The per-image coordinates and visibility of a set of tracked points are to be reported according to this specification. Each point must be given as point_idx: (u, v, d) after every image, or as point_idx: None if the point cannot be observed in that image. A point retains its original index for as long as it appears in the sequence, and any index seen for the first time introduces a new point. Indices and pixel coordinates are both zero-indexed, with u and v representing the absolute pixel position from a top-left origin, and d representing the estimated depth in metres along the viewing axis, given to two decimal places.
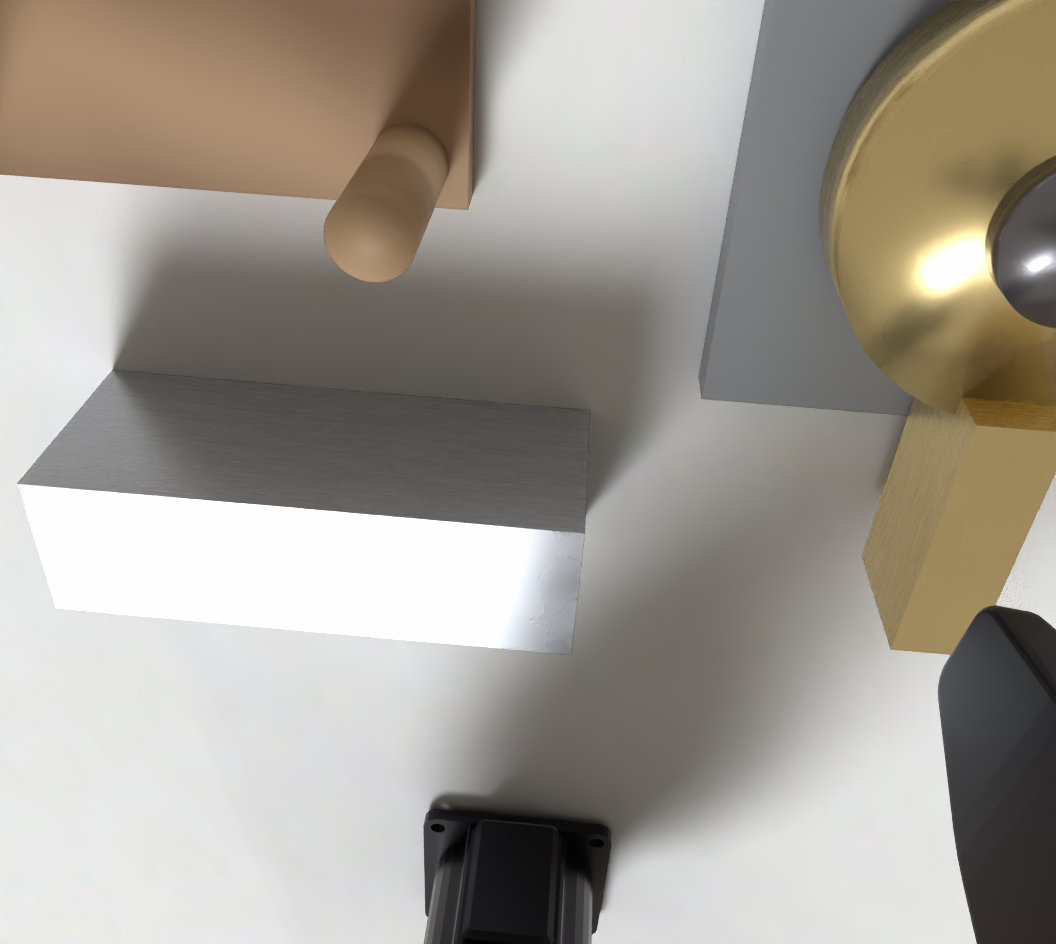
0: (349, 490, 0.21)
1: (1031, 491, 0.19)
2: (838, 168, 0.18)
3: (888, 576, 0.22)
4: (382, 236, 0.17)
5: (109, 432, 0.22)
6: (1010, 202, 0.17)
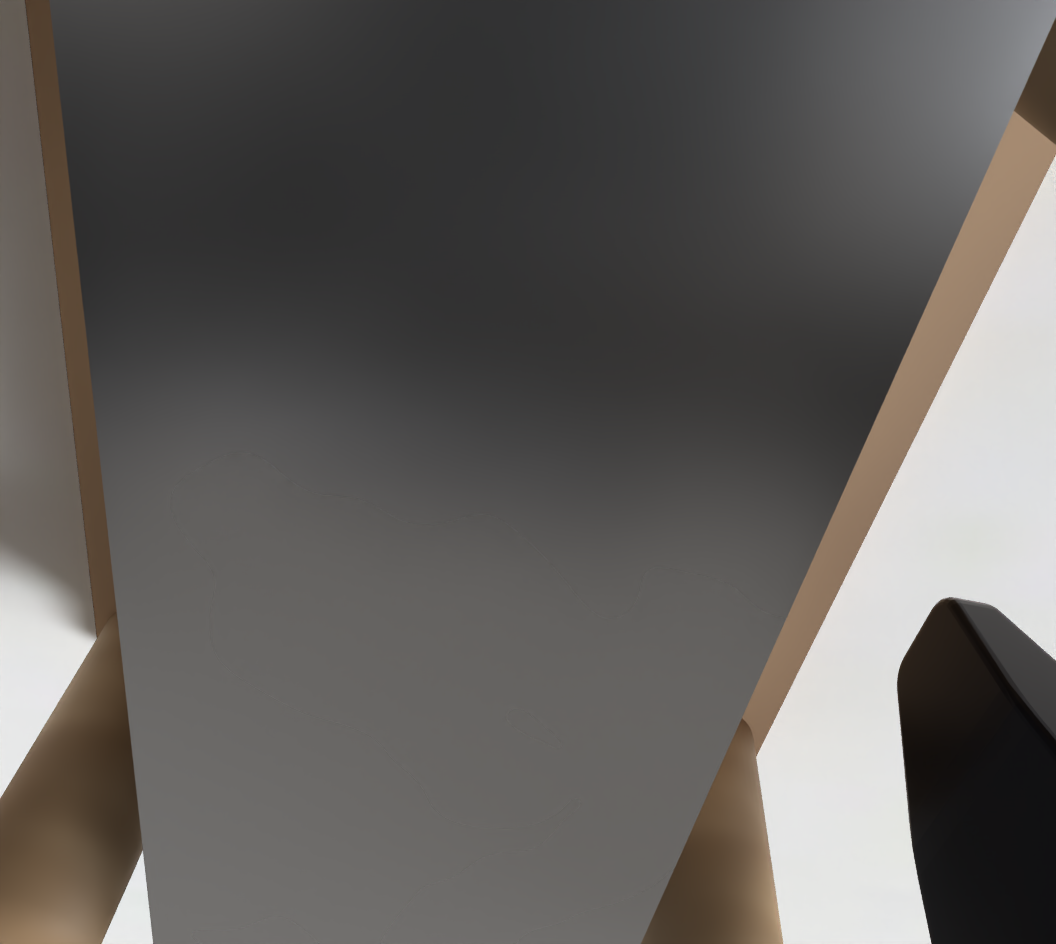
0: None
1: None
2: None
3: None
4: None
5: None
6: None
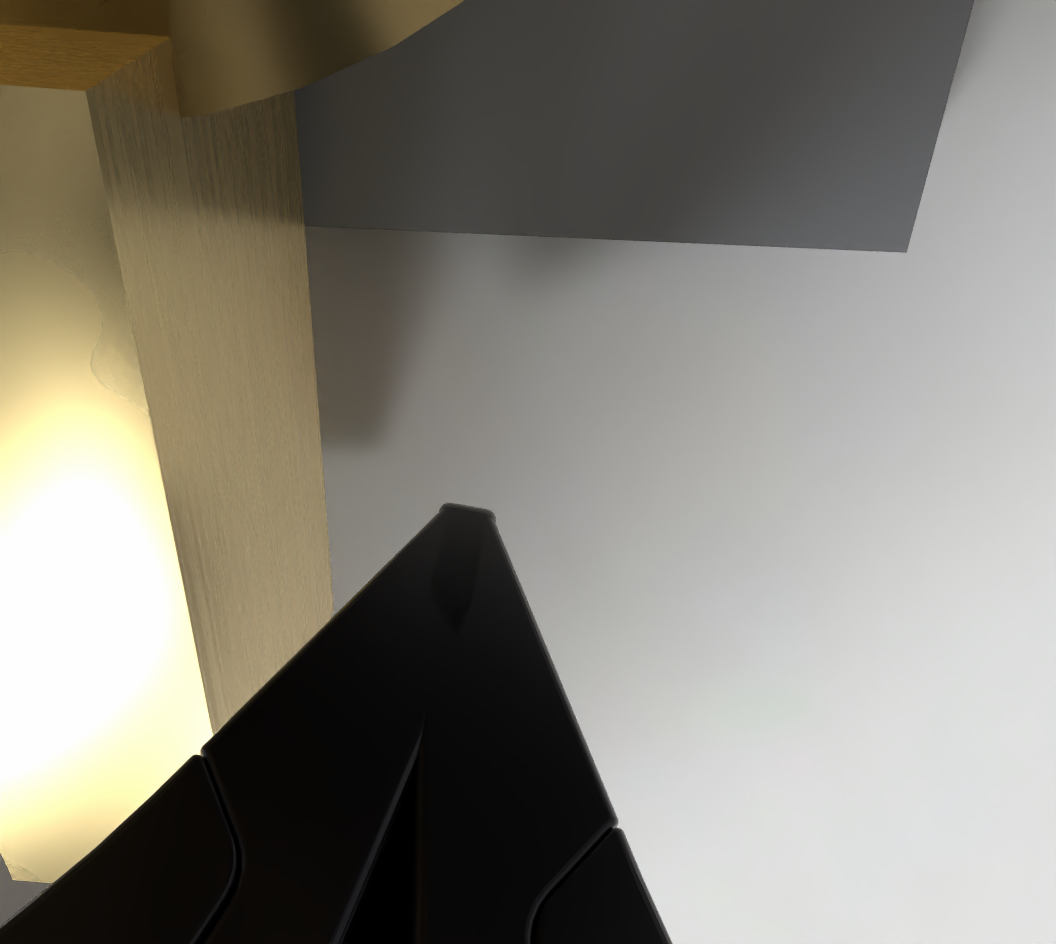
0: None
1: (87, 381, 0.05)
2: None
3: None
4: None
5: None
6: None
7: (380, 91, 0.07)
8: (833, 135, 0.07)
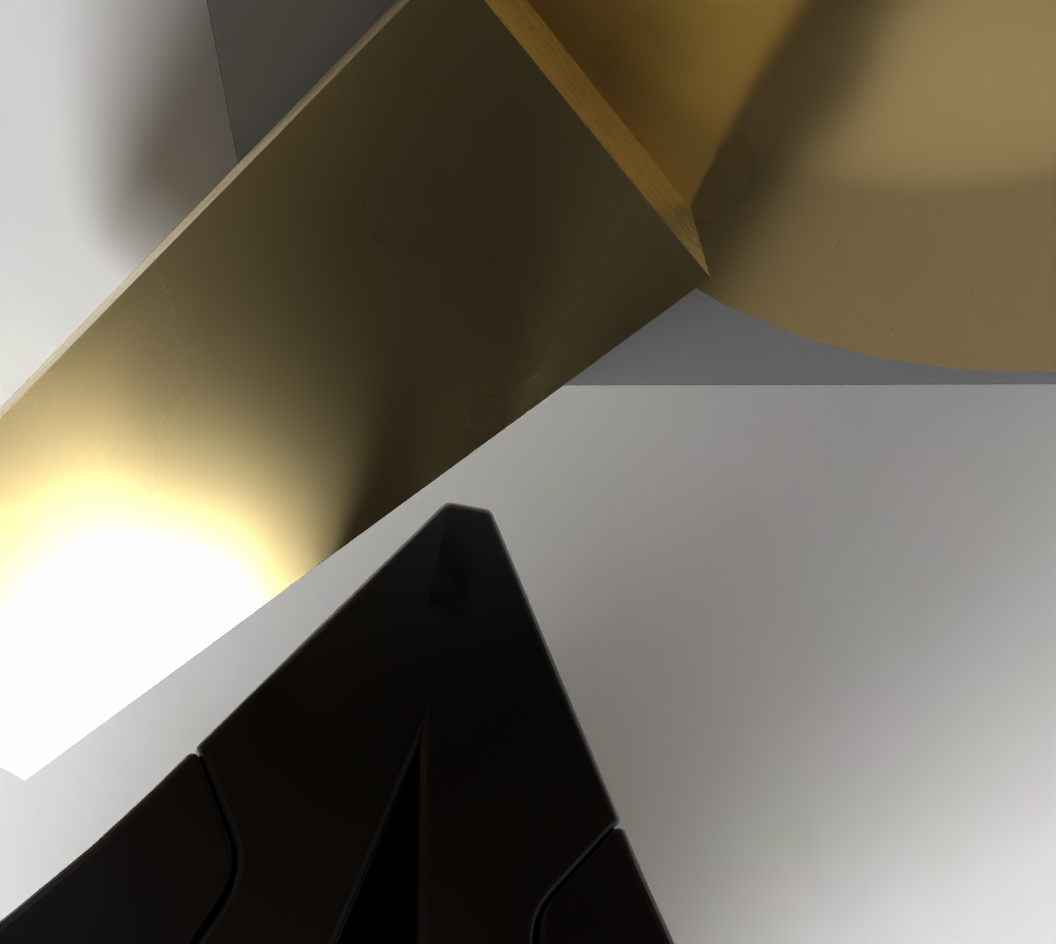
0: None
1: (457, 400, 0.05)
2: None
3: None
4: None
5: None
6: None
7: None
8: None
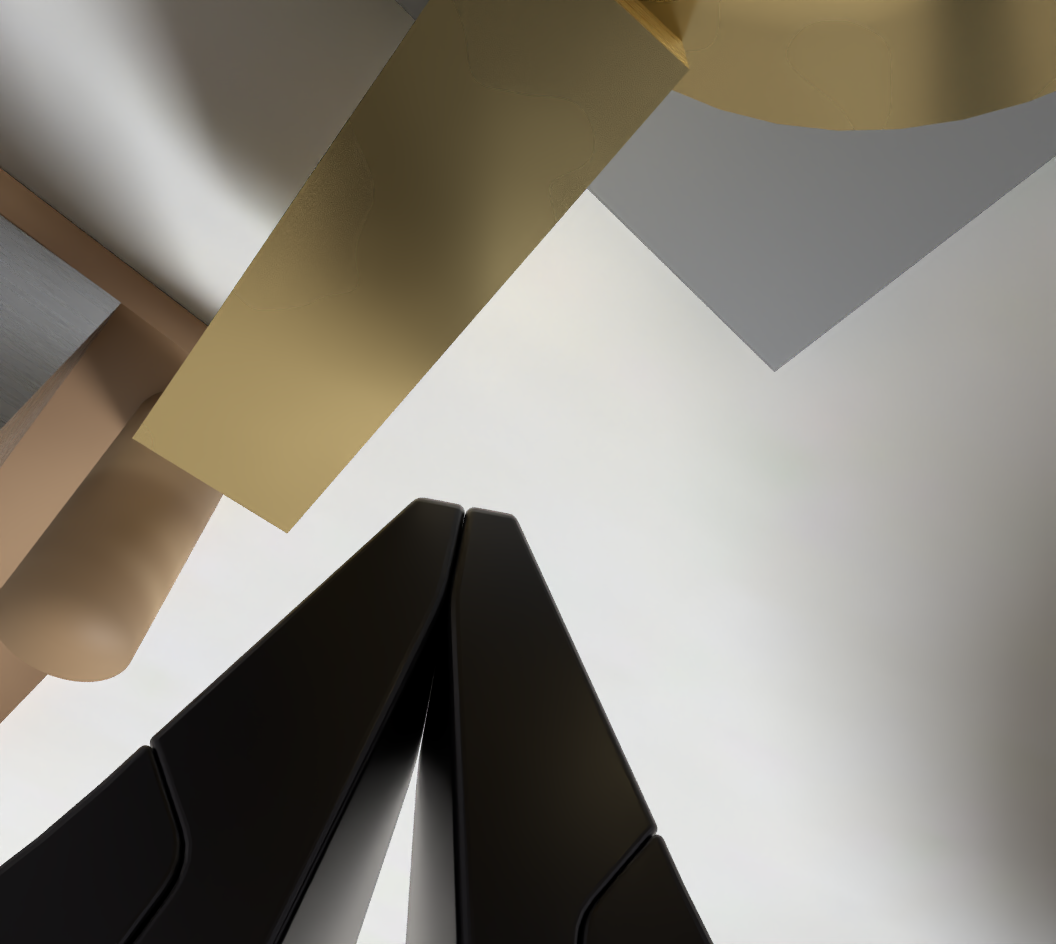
0: None
1: (542, 186, 0.08)
2: None
3: None
4: (67, 619, 0.11)
5: None
6: None
7: None
8: None
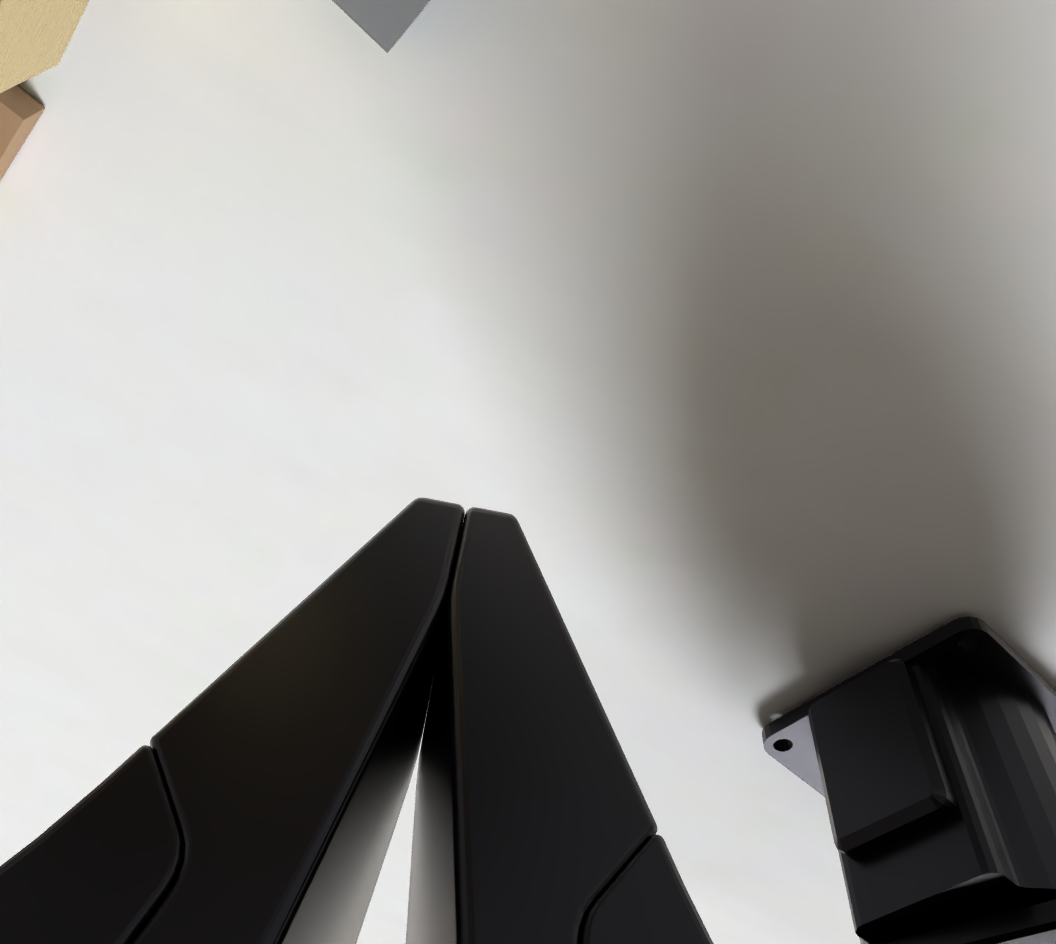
0: None
1: None
2: None
3: None
4: None
5: None
6: None
7: None
8: None
